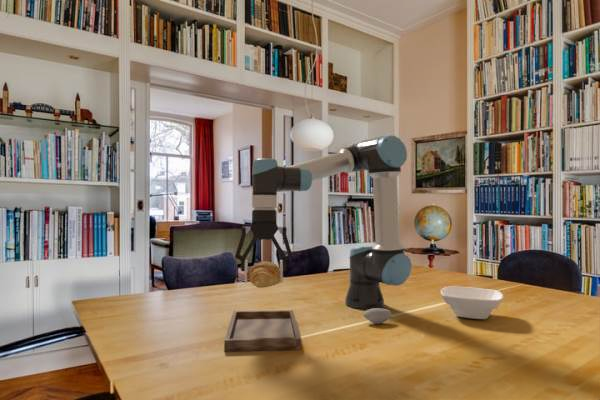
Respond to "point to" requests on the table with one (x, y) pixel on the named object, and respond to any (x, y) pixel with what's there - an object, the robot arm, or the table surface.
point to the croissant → (264, 274)
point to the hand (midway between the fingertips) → (263, 281)
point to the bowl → (471, 301)
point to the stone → (377, 315)
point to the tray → (262, 331)
